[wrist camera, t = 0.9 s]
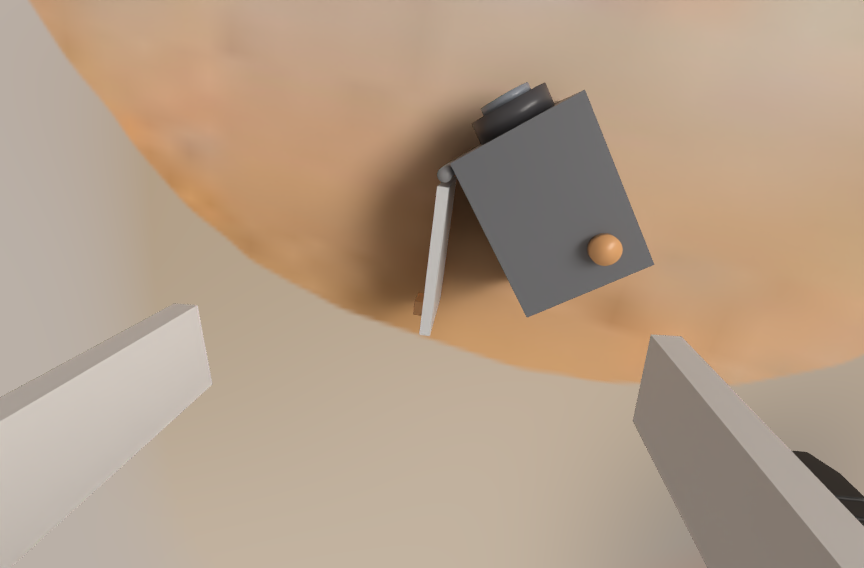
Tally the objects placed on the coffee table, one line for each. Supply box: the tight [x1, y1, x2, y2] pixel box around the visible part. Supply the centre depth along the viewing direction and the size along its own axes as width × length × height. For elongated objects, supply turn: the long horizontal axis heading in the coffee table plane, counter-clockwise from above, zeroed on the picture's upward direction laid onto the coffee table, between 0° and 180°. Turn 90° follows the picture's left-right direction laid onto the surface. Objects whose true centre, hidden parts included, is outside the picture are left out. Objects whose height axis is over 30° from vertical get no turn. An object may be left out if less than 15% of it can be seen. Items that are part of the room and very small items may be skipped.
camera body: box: [450, 82, 654, 317], centre depth 31 cm, size 14×9×10 cm, turn 28°
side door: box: [413, 160, 457, 336], centre depth 34 cm, size 12×2×8 cm, turn 173°
